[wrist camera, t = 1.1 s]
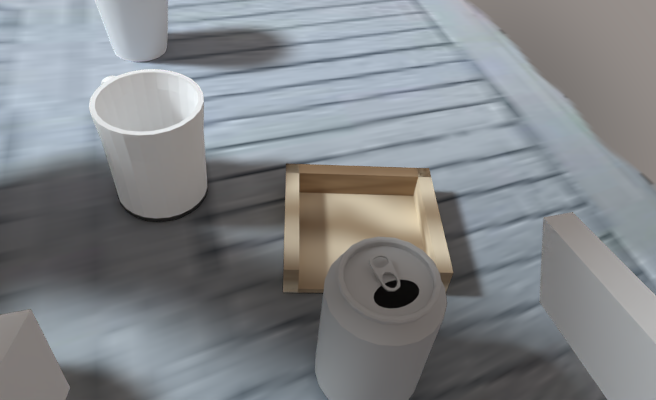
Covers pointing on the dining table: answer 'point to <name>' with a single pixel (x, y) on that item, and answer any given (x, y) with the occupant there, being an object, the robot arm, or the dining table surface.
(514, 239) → the dining table surface
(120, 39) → the foam cup
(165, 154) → the mug
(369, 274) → the can
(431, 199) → the holder
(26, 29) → the dining table surface
